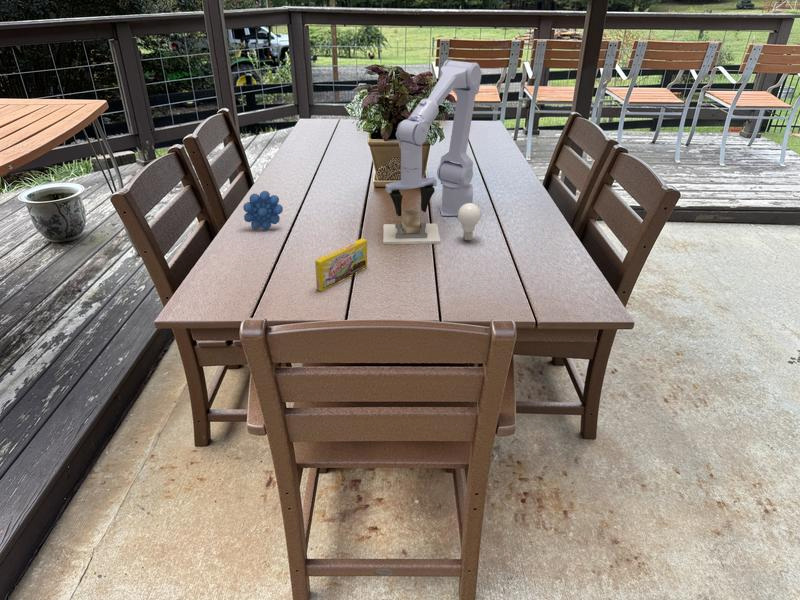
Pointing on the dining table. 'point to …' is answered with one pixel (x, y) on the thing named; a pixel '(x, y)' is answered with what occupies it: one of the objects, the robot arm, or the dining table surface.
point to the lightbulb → (469, 219)
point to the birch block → (410, 221)
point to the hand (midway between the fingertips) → (411, 212)
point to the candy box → (340, 264)
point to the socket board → (410, 234)
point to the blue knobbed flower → (262, 210)
